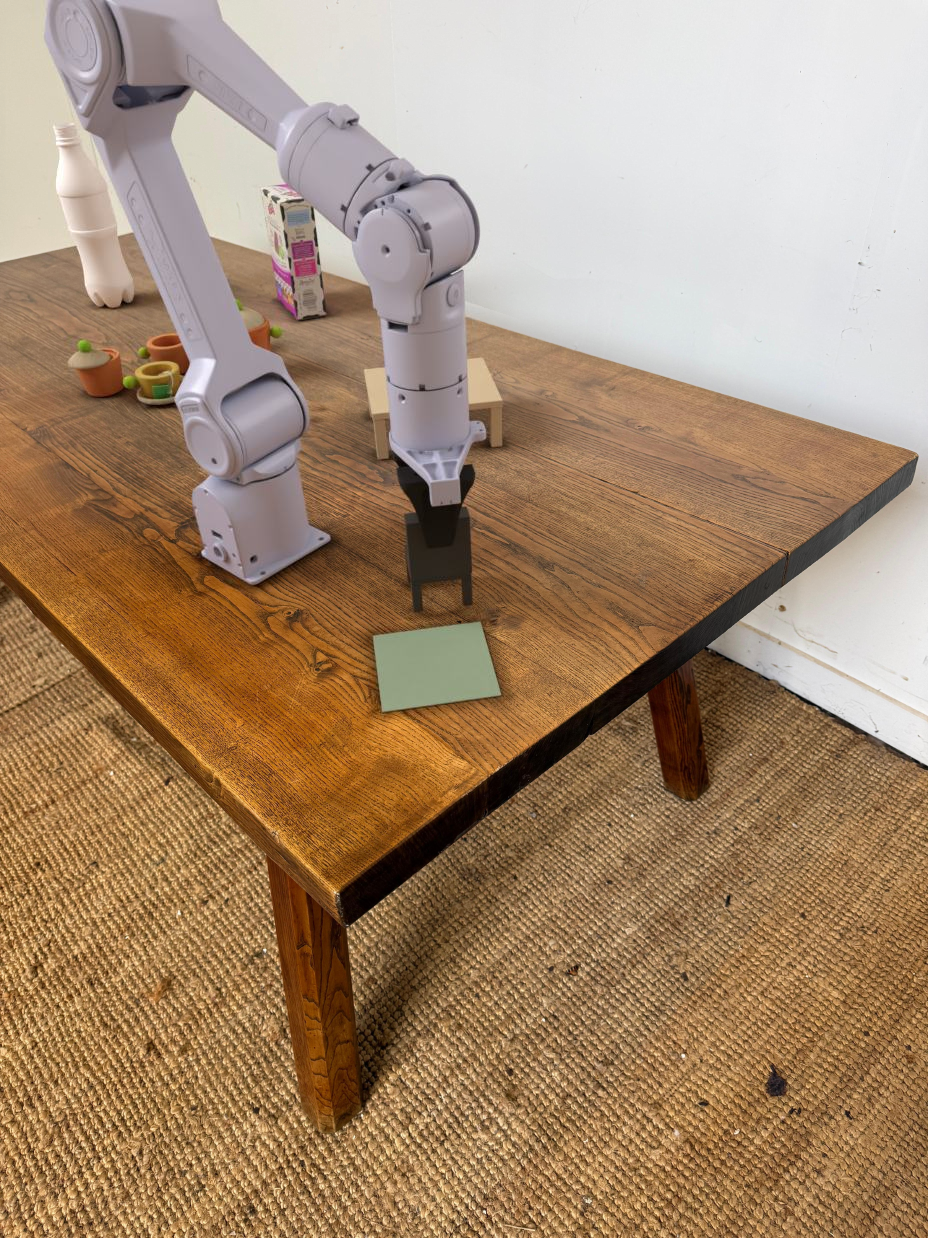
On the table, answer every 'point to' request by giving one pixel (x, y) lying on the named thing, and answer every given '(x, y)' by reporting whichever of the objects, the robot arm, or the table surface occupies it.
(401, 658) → the mat
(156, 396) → the toy tea set
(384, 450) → the side table
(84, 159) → the water bottle
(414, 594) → the toy chair
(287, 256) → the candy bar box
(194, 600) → the table surface
